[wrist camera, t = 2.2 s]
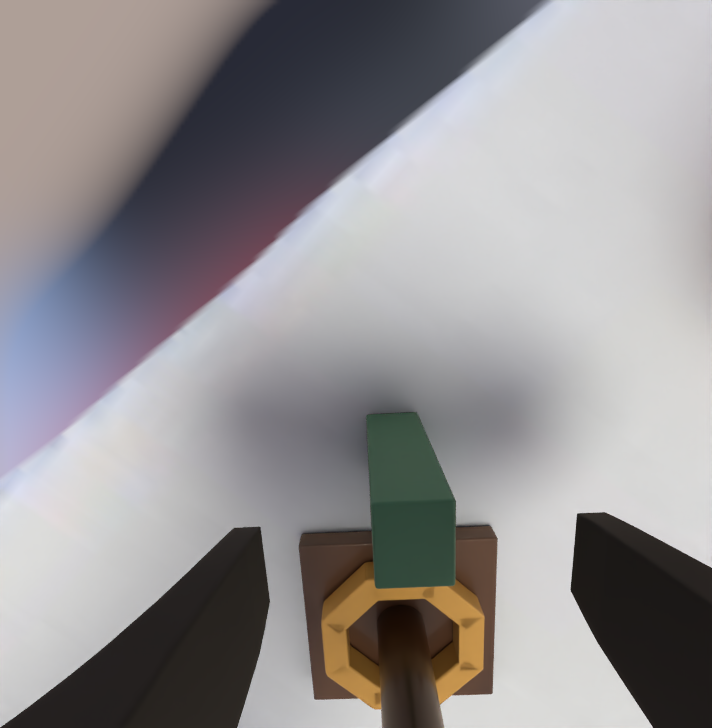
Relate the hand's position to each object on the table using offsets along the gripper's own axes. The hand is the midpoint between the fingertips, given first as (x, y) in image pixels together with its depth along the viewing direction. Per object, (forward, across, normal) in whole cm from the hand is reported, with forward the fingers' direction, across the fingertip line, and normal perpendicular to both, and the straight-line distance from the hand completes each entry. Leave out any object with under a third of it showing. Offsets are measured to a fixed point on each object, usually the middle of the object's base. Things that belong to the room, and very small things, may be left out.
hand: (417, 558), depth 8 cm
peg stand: (+6, 0, +8) cm, 10 cm away
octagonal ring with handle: (+6, 0, +5) cm, 8 cm away
